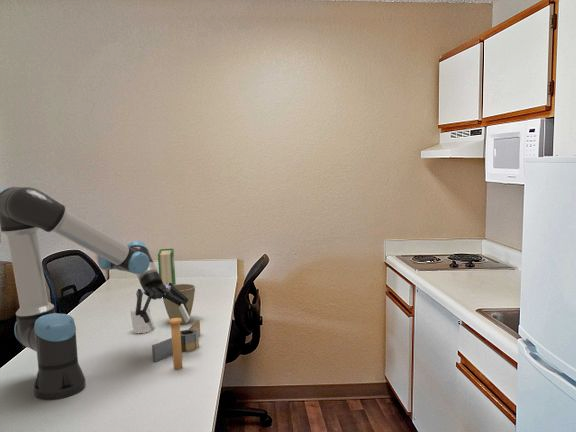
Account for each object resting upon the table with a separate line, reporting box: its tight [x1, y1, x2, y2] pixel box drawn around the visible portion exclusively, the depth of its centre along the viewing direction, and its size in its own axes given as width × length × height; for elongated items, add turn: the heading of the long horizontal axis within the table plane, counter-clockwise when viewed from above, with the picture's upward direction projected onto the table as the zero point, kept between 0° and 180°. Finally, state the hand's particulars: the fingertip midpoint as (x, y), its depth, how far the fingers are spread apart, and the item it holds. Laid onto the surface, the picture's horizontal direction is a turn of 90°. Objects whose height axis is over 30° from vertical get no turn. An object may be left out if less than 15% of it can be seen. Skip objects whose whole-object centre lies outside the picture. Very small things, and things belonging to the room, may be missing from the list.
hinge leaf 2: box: [182, 319, 201, 353], centre depth 212 cm, size 8×21×6 cm, turn 175°
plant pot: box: [162, 283, 196, 325], centre depth 240 cm, size 15×15×16 cm
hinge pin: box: [168, 318, 184, 370], centre depth 185 cm, size 4×4×17 cm
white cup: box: [130, 305, 151, 335], centre depth 229 cm, size 8×8×10 cm
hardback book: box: [157, 248, 177, 285], centre depth 295 cm, size 18×7×24 cm, turn 10°
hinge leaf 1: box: [151, 329, 199, 363], centre depth 201 cm, size 20×8×6 cm, turn 145°
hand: (171, 324), depth 191 cm, fingers open, 13 cm apart
